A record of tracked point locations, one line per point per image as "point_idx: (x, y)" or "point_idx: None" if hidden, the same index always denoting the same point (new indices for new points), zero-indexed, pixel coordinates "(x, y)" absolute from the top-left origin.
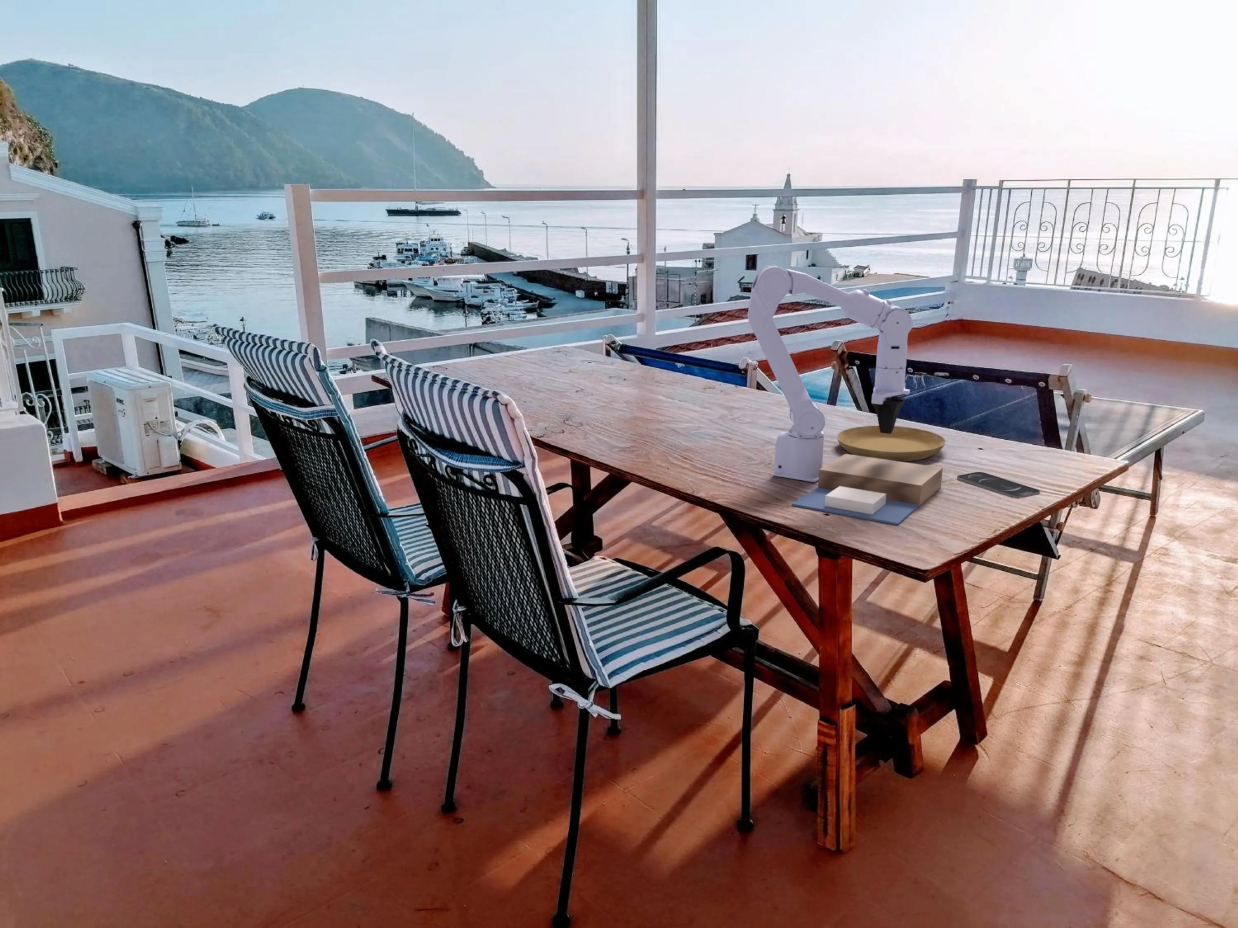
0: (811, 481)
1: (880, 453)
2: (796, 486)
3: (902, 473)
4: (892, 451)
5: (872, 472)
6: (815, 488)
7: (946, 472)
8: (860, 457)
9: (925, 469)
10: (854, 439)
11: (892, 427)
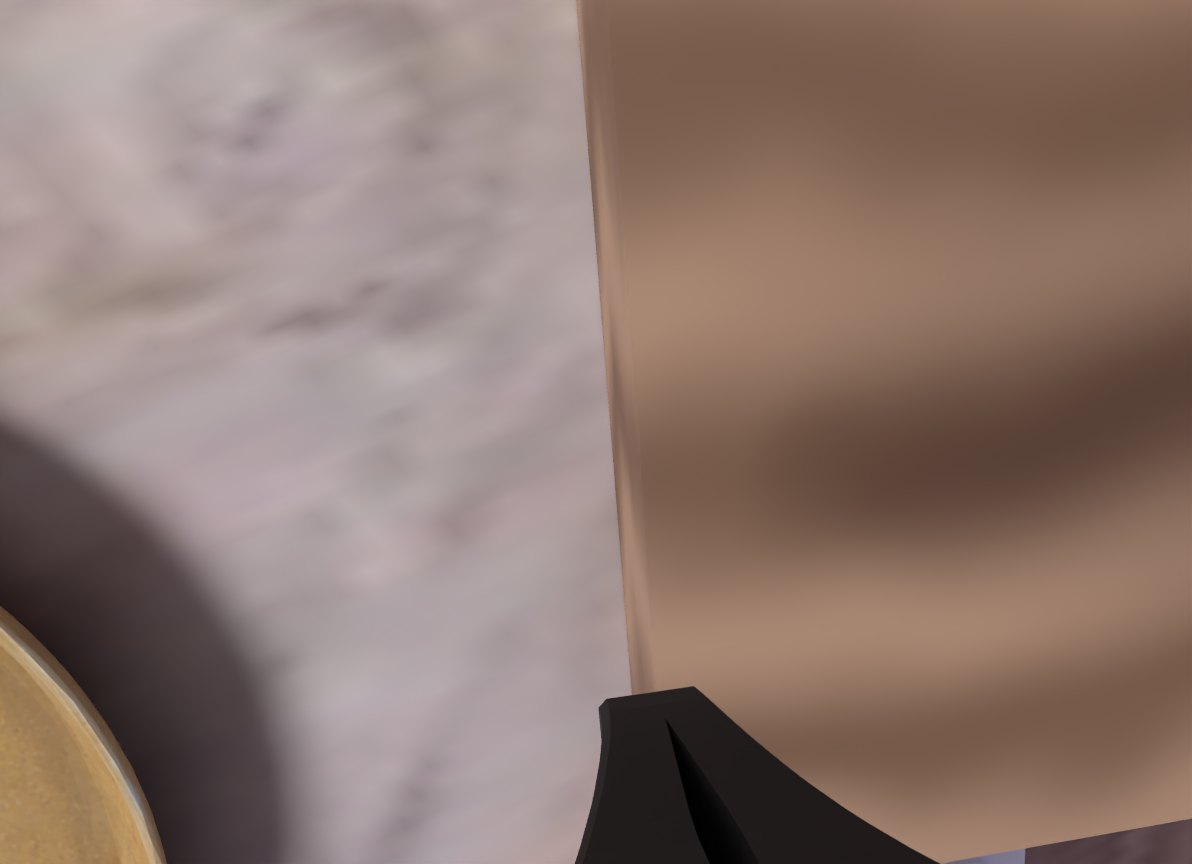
0: None
1: (141, 789)
2: (1128, 834)
3: (1043, 206)
4: (73, 714)
5: (1136, 447)
6: None
7: (37, 114)
8: None
9: (783, 58)
10: None
11: (698, 725)
